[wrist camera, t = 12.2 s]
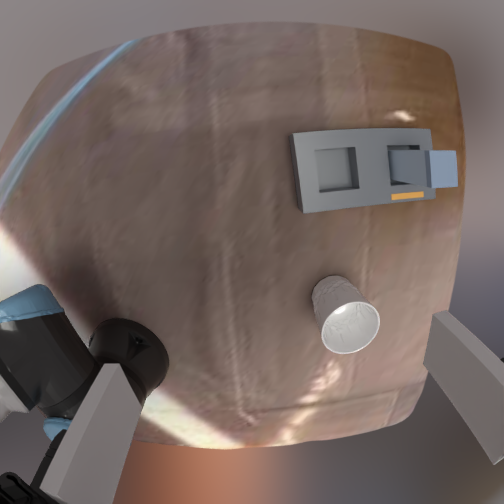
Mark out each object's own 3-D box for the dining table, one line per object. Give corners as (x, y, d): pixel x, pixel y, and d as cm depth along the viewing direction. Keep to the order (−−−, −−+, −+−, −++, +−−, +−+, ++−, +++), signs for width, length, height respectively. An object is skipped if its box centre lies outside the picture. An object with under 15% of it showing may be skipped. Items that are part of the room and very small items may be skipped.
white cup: (314, 267, 42) (331, 298, 32) (361, 274, 42) (388, 304, 33) (302, 314, 44) (314, 352, 35) (347, 318, 45) (368, 355, 35)
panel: (298, 208, 39) (303, 213, 35) (288, 136, 36) (293, 133, 32) (421, 194, 38) (435, 198, 35) (415, 130, 35) (430, 129, 31)
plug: (384, 178, 37) (431, 188, 25) (382, 150, 36) (429, 150, 24) (407, 176, 37) (457, 186, 25) (405, 149, 35) (455, 150, 24)
